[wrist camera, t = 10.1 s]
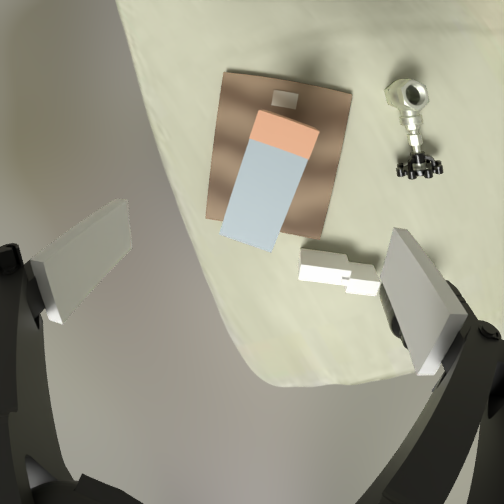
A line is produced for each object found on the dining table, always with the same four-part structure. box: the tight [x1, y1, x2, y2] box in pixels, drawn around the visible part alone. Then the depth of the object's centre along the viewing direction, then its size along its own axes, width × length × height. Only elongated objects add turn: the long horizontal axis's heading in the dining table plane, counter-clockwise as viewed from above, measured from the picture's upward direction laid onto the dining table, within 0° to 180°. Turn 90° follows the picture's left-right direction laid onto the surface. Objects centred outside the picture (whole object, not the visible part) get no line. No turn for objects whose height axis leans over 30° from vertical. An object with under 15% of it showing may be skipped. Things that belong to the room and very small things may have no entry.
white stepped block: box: [298, 248, 380, 296], centre depth 42 cm, size 15×11×6 cm
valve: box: [384, 79, 443, 179], centre depth 31 cm, size 7×7×12 cm
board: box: [206, 72, 352, 240], centre depth 34 cm, size 20×16×9 cm
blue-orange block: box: [219, 110, 320, 252], centre depth 27 cm, size 5×11×6 cm, turn 162°
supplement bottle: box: [379, 283, 408, 349], centre depth 39 cm, size 7×7×12 cm
